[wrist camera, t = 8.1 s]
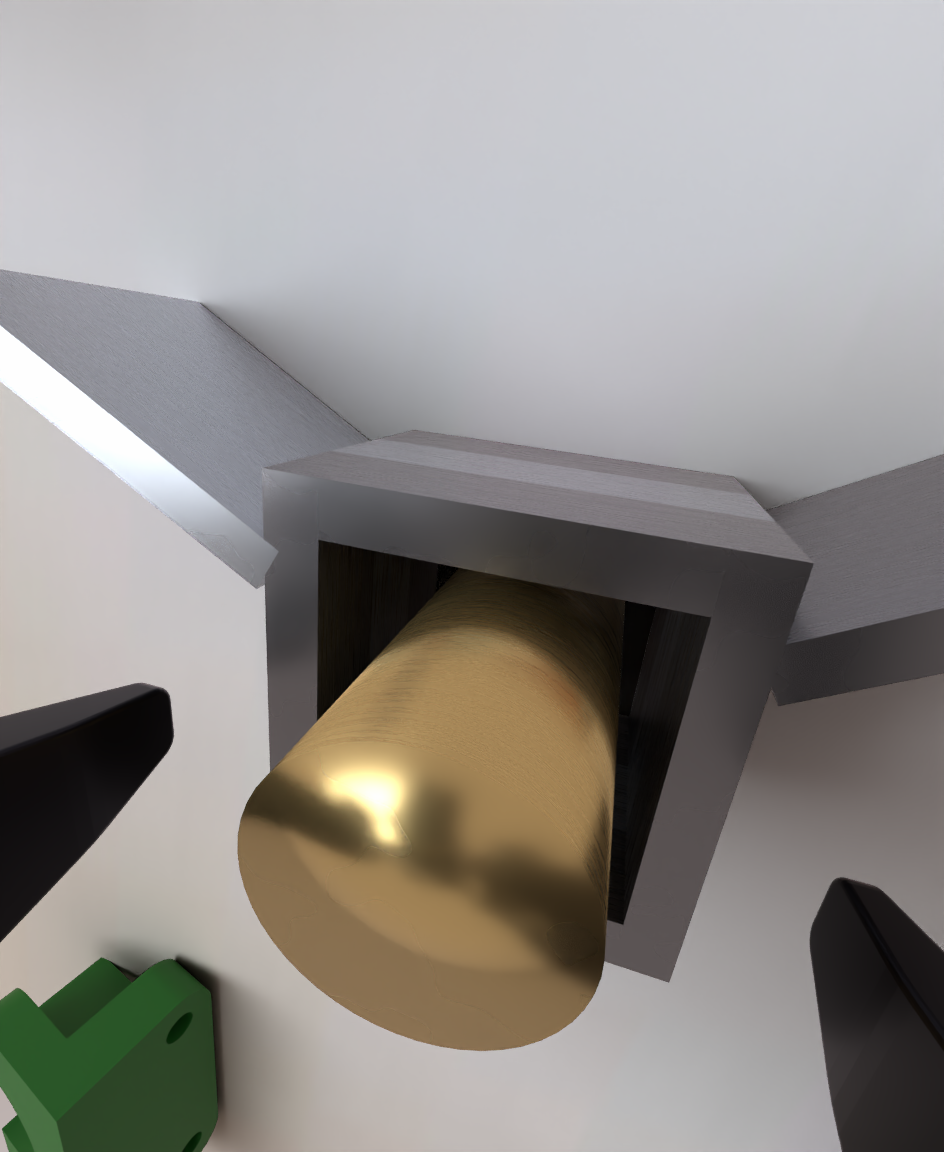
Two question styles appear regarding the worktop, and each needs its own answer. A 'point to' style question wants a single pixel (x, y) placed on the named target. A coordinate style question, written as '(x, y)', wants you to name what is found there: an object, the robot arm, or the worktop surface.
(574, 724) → the pin
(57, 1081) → the clamp
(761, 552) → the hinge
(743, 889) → the worktop surface
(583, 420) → the worktop surface
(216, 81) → the worktop surface
